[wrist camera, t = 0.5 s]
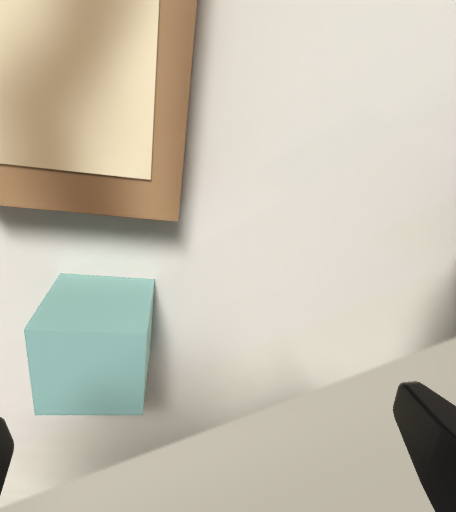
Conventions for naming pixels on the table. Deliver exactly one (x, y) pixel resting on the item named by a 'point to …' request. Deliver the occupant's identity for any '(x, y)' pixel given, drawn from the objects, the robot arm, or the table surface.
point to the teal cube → (91, 346)
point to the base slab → (95, 105)
